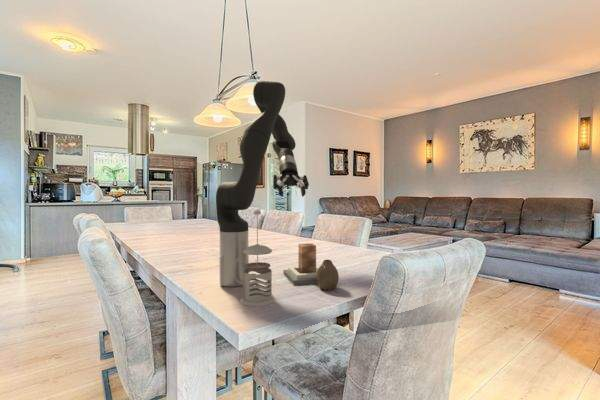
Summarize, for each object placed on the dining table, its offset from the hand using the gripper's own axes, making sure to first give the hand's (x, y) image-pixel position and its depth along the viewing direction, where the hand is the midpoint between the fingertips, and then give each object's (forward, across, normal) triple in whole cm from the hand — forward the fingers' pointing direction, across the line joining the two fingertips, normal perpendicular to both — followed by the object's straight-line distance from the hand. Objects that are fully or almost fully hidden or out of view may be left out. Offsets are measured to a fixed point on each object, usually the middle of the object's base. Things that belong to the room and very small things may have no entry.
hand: (292, 195), depth 122 cm
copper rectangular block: (+30, +2, +8) cm, 31 cm away
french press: (+45, -17, -4) cm, 48 cm away
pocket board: (+31, +2, +9) cm, 33 cm away
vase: (+40, +6, 0) cm, 41 cm away
